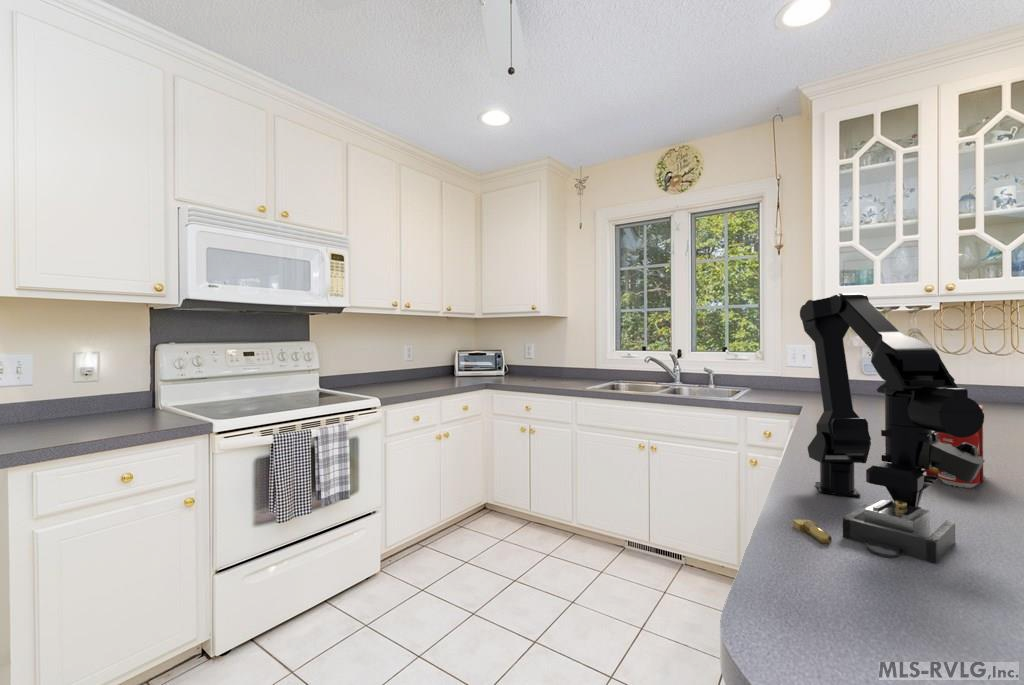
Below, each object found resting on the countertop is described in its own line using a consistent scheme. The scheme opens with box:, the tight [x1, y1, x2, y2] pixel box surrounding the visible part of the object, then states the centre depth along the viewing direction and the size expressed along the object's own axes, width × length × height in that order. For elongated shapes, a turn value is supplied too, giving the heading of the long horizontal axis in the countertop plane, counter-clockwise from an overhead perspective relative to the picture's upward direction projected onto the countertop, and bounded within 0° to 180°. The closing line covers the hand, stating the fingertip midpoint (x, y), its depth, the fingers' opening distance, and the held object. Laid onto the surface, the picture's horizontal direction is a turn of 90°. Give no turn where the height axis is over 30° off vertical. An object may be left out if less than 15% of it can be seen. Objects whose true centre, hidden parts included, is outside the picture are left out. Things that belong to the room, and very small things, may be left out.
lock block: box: [864, 499, 931, 537], centre depth 72 cm, size 7×6×6 cm
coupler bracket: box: [842, 502, 956, 564], centre depth 71 cm, size 14×11×3 cm
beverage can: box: [937, 432, 981, 489], centre depth 98 cm, size 6×6×12 cm
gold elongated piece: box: [792, 519, 833, 546], centre depth 74 cm, size 7×3×2 cm, turn 176°
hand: (908, 520), depth 75 cm, fingers closed
